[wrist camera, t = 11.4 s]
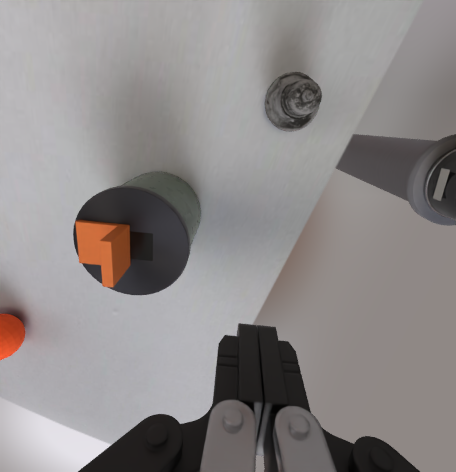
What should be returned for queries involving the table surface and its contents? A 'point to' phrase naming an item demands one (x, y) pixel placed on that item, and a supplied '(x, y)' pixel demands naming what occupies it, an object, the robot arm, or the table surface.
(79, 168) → the table surface
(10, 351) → the clementine
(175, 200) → the green lidded canister
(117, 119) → the table surface
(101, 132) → the table surface
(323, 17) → the table surface
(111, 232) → the lid slider
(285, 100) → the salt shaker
